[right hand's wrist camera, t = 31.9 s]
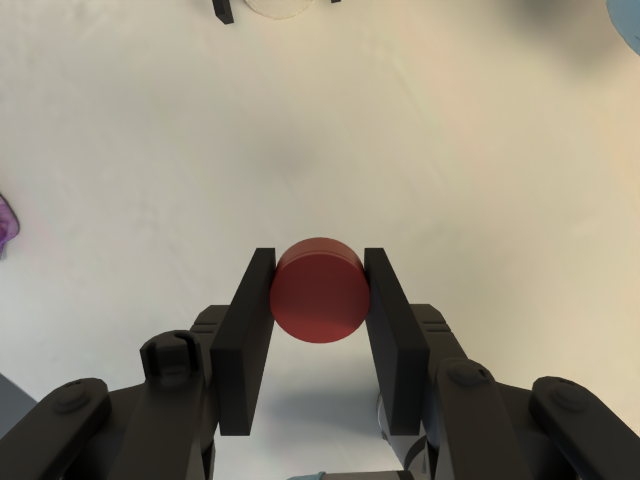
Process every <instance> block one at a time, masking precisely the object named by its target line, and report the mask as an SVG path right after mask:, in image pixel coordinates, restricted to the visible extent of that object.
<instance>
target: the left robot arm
mask: <svg viewBox="0 0 640 480" xmlns="http://www.w3.org/2000/svg"><path fill="white" fill-rule="evenodd" d="M340 1H341V0H331V3H335V2H340ZM212 2H213V6H214V10H215V14H216V16H217V17H218V18H219V19H220V20H221V21H222V22H223V23H224V24H230V23H234V20H233V16H232V11H231V7H230V2H229V0H212ZM606 4H607V9H608V13H609V16H610V18H611V21H612V23H613V25H614V27H615V28H616V30H617V31H618V33H619V34H620V35H621V36H622V37H623V39H624V40H625V42H626V43H627V44H628V45H629V47H630V48H631V49H632V50H634V51H635V52H636V53H637V54H638V55H639V56H640V0H606Z"/></svg>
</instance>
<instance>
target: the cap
mask: <svg viewBox="0 0 640 480" xmlns="http://www.w3.org/2000/svg"><path fill="white" fill-rule="evenodd" d="M369 304H370V289H369V286H368V282H367V279H366V275H365V271H364V268H363V265H362V263H361V261H360V259H359V257H358V256H357V254H356V253H355V252H354V251H353V250H352V249H351V248H349V247H348V246H347V245H345V244H343V243H341V242H339V241H337V240H334V239H330V238H321V237H320V238H310V239H306V240H303V241H300V242H298V243H296V244H295V245H293V246H291V247H290V248H289V249H288V250H287V251H286V252H285V253H284V254H283V255H282V257H281V258H280V260H279V262H278V264H277V267H276V270H275V273H274V277H273V281H272V284H271V288H270V308H271V312H272V315H273V317H274V319H275V320H276V322H277V323H278V324H279V326H280V327H281V328H282V329H283V330H284V331H285V332H287V333H288V334H289V335H291V336H293V337H295V338H297V339H299V340H302V341H305V342H310V343H330V342H334V341H338V340H340V339H343V338H345V337H347V336H349V335H350V334H351V333H353V332H354V331H355V330H356V329H358V328H359V326H360V325H361V324H362V323H363V321H364V320H365V318H366V316H367V314H368V311H369Z"/></svg>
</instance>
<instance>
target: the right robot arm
mask: <svg viewBox="0 0 640 480" xmlns="http://www.w3.org/2000/svg"><path fill="white" fill-rule="evenodd" d="M275 270H276V258H275V248H256V250H255V253H254V255H253V257H252V259H251V261H250V263H249V265H248V268H247V270H246V272H245V274H244V276H243V278H242V280H241V283H240V285H239V287H238V289H237V291H236V293H235V295H234V298H233V300H232V302H231V304H230V305H210V306H209V307H208V308H206V309H205V310H204V311H202V312H201V313H200V314H199V315H198V317H197V319H196V320H195V322H194V325H192V327H191V329H190V330H189V331H188V330H173V331H169V332H164V333H162V334H159V335H157V336H154V337H153V338H151V339H150V340H148V341H147V342H146V343H144V345H143V346H142V347H141V349H140V355H141V359H142V364H143V369H144V373H145V378H146V380H145V382H144V383H143V384H139V385H136V386H133V387H128V388H124V389H120V390H115V391H111V392H108V388H107V384H106V383H105V382H104V381H103V380H101V379H96V378H84V379H79V380H75V381H72V382H69V383H66V384H65V385H63V386H61V387H59V388H57V389H55V390H53V391H52V392H51V393H50V394H48V395H47V396H46V397H44V398H43V399H42V400H41V401H40V402H39V403H38V404H37V405H36V406H35V407H34V408H33V409H32V410H31V411H30V412H29V413H28V414H27V415H26V416H25V417H24V418H23V419H22V420H20V421H19V422H18V423H17V424H16V425H15V426H14V427H13V428H12V429H11V430H10V431H9V432H8V433H7V434H6V435H5V436H4V437H3V438H2V439H1V440H0V480H213V471H214V461H215V444H214V434H215V431H216V428H217V425H218V422H219V427H220V434H221V436H250V431H251V427H252V422H253V417H254V413H255V408H256V404H257V399H258V394H259V390H260V385H261V381H262V376H263V371H264V367H265V362H266V358H267V353H268V348H269V344H270V339H271V335H272V330H273V325H274V321H275V319H274V317H273V315H272V312H271V308H270V288H271V284H272V281H273V277H274V273H275ZM364 271H365V275H366V279H367V282H368V286H369V289H370V304H369V311H368V314H367V316H366V318H365V322H366V326H367V331H368V336H369V340H370V345H371V349H372V354H373V359H374V363H375V368H376V372H377V377H378V382H379V386H380V391H381V393H380V395H379V398H378V402H377V415H378V420H379V425H380V428H381V430H382V435H383V439H385V440H387V442H388V443H389V444H390V445H391V447H392V448H393V450H394V452H395V454H396V456H397V457H398V459H399V461H400V463H401V464H402V466H403V468H404V470H401V471H380V472H358V473H334V474H326V472H319V473H318V474H315V475H306V476H297V477H291V478H289V479H287V480H640V438H639V437H638V436H637V435H636V434H635V433H634V432H633V431H632V430H631V429H630V428H629V427H628V426H627V425H626V424H625V423H624V422H623V421H622V420H621V419H620V418H619V417H618V416H616V415H615V414H614V413H613V412H612V411H611V410H610V409H609V408H608V407H607V406H606V405H605V404H604V403H603V402H602V401H601V400H600V399H599V398H598V397H597V396H595V395H594V394H593V393H591V392H590V391H589V390H588V389H586V388H585V387H583V386H581V385H579V384H577V383H575V382H573V381H570V380H566V379H563V378H560V377H551V376H546V377H541V378H538V379H537V380H536V381H535V382H534V383H533V387H532V391H531V390H527V389H522V388H518V387H514V386H509V385H505V384H502V383H499V382H496V381H495V379H494V377H493V376H492V374H491V373H490V372H489V371H488V370H487V369H486V368H485V367H483V366H482V365H481V364H479V363H477V362H475V361H472V360H470V359H468V358H467V356H466V354H465V353H464V351H463V349H462V348H461V346H460V344H459V343H458V341H457V339H456V338H455V336H454V334H453V333H452V332H451V329H450V328H449V326H448V324H446V321H445V319H444V318H443V316H442V314H441V313H440V312H439V311H438V310H436V309H435V308H434V307H432V306H431V305H430V304H409V302H408V300H407V298H406V296H405V294H404V292H403V290H402V287H401V285H400V283H399V281H398V279H397V277H396V275H395V272H394V270H393V268H392V266H391V264H390V262H389V260H388V257H387V255H386V253H385V251H384V249H383V248H365V253H364Z"/></svg>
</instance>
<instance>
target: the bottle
mask: <svg viewBox="0 0 640 480" xmlns="http://www.w3.org/2000/svg"><path fill="white" fill-rule="evenodd" d="M244 1H245V2H246V3H247V4H248V5H249V6H250V7H251V8H252V9H253V10H254V11H256V12H257V13H259V14H261V15H262V16H265V17H267V18H272V19H286V18H290V17H293V16H295V15H297V14H299V13H300V12H302V11H303V10H304V9H305V8H306V7H307V6H308V5H309V4H310V3H311V1H312V0H244Z"/></svg>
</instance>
